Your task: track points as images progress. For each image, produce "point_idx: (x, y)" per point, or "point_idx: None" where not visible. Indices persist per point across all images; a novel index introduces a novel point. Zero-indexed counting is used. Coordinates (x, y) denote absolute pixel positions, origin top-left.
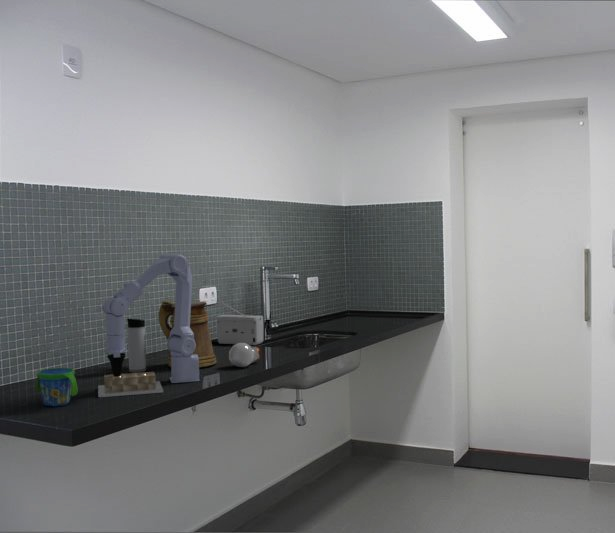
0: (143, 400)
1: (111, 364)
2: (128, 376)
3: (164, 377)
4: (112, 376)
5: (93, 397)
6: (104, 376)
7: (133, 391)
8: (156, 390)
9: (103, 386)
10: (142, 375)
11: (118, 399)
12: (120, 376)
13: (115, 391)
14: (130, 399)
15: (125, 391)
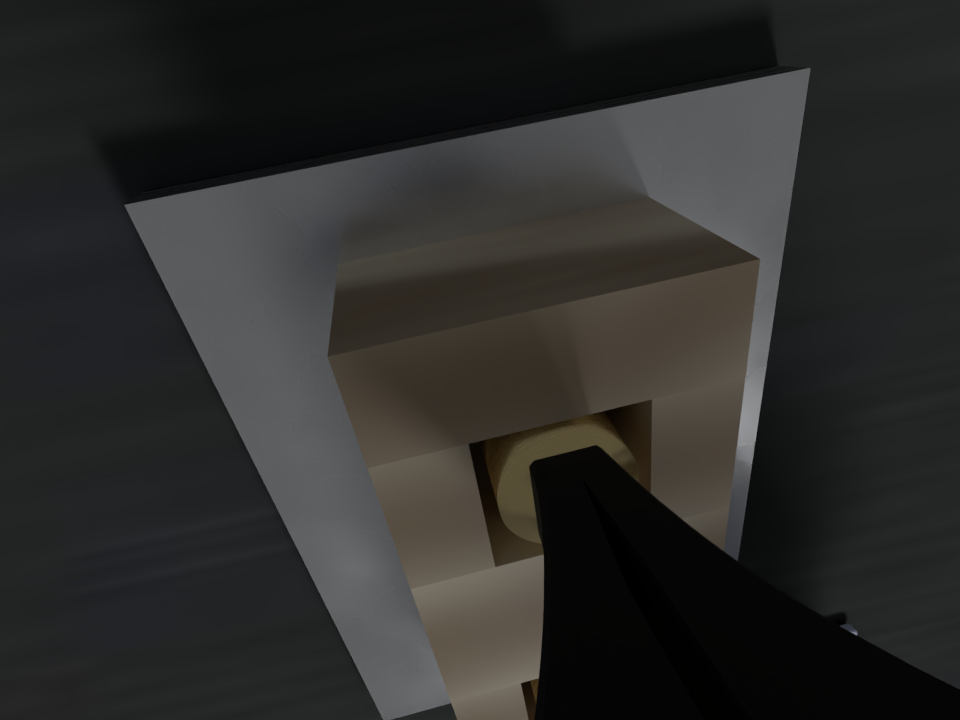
0: (51, 662)
1: (540, 684)
2: (496, 621)
3: (939, 574)
4: (643, 402)
5: (148, 107)
6: (615, 295)
7: (315, 565)
8: (370, 687)
9: (707, 169)
10: (521, 717)
11: (58, 463)
12: (528, 536)
13: (330, 399)
14: (79, 565)
15: (320, 499)
